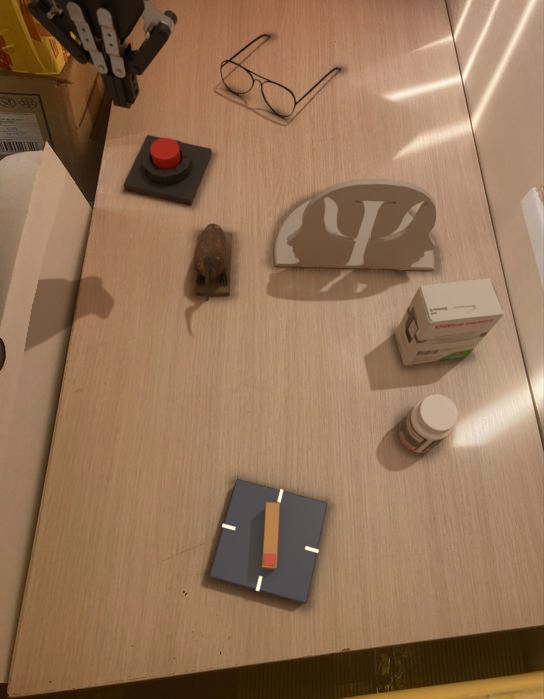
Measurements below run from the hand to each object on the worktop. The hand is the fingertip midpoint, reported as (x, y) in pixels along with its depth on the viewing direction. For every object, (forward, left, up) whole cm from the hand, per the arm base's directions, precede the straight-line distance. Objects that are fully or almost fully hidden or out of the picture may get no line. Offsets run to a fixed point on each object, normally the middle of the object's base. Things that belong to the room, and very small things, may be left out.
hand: (125, 101), depth 53 cm
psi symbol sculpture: (+25, +9, -23) cm, 35 cm away
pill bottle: (+38, -18, -23) cm, 48 cm away
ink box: (+38, -6, -23) cm, 45 cm away
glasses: (+8, +36, -23) cm, 44 cm away
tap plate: (+24, -34, -23) cm, 48 cm away
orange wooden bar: (+24, -34, -20) cm, 46 cm away
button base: (-3, +12, -23) cm, 26 cm away
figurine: (+8, -4, -23) cm, 25 cm away
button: (-3, +12, -20) cm, 24 cm away
